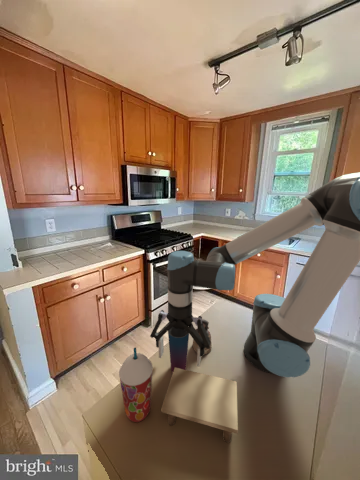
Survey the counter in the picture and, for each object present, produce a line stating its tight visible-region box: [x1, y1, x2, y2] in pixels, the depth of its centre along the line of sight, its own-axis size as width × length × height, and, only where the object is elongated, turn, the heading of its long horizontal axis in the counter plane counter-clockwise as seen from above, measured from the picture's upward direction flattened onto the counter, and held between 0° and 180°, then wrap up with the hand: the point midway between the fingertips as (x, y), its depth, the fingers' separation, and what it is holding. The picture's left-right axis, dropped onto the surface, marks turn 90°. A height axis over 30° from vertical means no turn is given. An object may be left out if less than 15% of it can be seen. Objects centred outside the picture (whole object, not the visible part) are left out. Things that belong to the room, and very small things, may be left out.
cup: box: [167, 327, 190, 374], centre depth 65 cm, size 7×7×15 cm
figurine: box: [192, 318, 213, 355], centre depth 74 cm, size 7×7×12 cm
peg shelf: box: [160, 368, 239, 443], centre depth 52 cm, size 18×12×6 cm, turn 76°
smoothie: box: [118, 347, 153, 423], centre depth 51 cm, size 8×8×20 cm
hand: (179, 358), depth 66 cm, fingers open, 12 cm apart
